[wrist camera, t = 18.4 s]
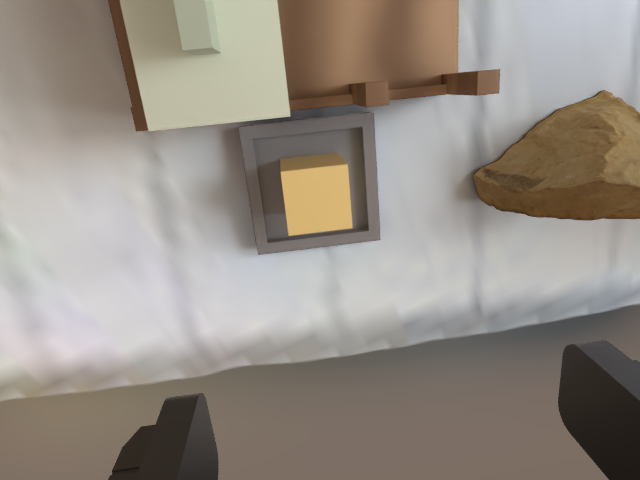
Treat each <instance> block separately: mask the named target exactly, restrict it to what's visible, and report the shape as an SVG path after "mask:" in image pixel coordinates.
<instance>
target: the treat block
mask: <svg viewBox="0 0 640 480" xmlns="http://www.w3.org/2000/svg"><path fill="white" fill-rule="evenodd" d="M280 172H281V180H282V188H283V195H284V203H285V211H286V219H287V227H288V235H289V236H292V235H300V234H309V233H317V232H325V231H333V230H342V229H350V228H353V227H352V213H351V200H350V187H349V173H348V164H347V163H346V162H345V161H344V159H343V158H342V157H341V156H340V155H339V154H338V153H328V154H319V155H310V156H301V157H292V158H283V159H280Z"/></svg>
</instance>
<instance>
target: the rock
mask: <svg viewBox="0 0 640 480" xmlns="http://www.w3.org/2000/svg"><path fill="white" fill-rule="evenodd" d="M473 177H474V181H475V185H476V189H477V193H478V196H479V198H480V199H481V200H482V201H483V202H485V203H486V204H488V205H489V206H494V207H495V208H496V209H498V210H501V211H509V212H515V213H521V214H526V215H528V216H532V217H552V218H558V219H573V220H597V219H602V218H605V219H640V113H639V112H637V111H636V110H635V108H633V107H631V106H629V105H627V104H626V103H625V102H624V101H623V100H622V99H621V98H615V97H614V96H613V95H612V93H610V92H607V91H605V90H603V91H601V92H600V93H599V94H598V95H597V96H595V97H593V98H590V99H587V100H585V101H582V102H580V103H578V104H572V105H570V106H568V107H565V108H563V109H562V108H560V109H558V110H557V111H556V112H555V113H553V114H552V115H551V116H549V117H548V118H546V119H545V120H543V121H541V122H539V123H538V124H537V125H536V126H535V128H533V129H532V130H531V131H529V132H528V133H527V134H526V136H525V137H524V138H523V139H522V140H520V141H519V142H518V143H517V144H514V145H512V146H511V148H509V149H508V150H507V151H506V152H505V154H504V155H503V156H502V157H501V158H500V159H499V160H498V161H496V162H493V163H491V164H489V165H487V166H484V167H482V168H481V169H479V171H477V172H476V173H475V174H474V176H473Z"/></svg>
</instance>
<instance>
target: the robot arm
mask: <svg viewBox="0 0 640 480" xmlns="http://www.w3.org/2000/svg"><path fill="white" fill-rule="evenodd" d="M558 407H559V412H560V415H561V418H562V421H563V423H564V425H565V426H566V428H567V430H568V431H569V432H570V434H571V435H572V436H573V437H574V438H575V440H576V441H577V442H578V443H579V444H580V446H581V447H582V448H583V449H584V450H585V452H586V453H587V454H588V455H589V456H590V457H591V459H592V460H593V461H594V462H595V463H596V465H597V466H598V467H599V468H600V469H601V471H602V472H603V473H604V474H605V475H606V477H607V478H608V479H609V480H640V362H638V361H636V360H631V359H630V358H629V357H627V356H626V355H625V354H623V353H622V352H621V351H620V350H618V349H617V348H616V347H614V346H613V345H612V344H610V343H609V342H607V341H603V340H601V341H593V342H586V343H578V344H571V345H568V346H567V347H566V348H565V349H564V352H563V359H562V369H561V378H560V388H559V397H558ZM108 480H218V453H217V446H216V442H215V438H214V434H213V429H212V424H211V420H210V415H209V411H208V406H207V402H206V398H205V396H204V394H203V393H199V394H191V395H184V396H176V397H169V398H167V399H166V400H165V401H164V404H163V406H162V409H161V412H160V415H159V417H158V420H157V422H156V425H150V426H143V427H140V429H139V430H138V431H137V432H136V433H135V434H134V435H133V436H132V437H131V439H130V440H129V441H128V442H127V443H126V444H125V445H124V446H123V447H122V450H121V452H120V454H119V457H118V459H117V461H116V463H115V466H114V468H113V470H112V475H111V476H110V477H109V479H108Z"/></svg>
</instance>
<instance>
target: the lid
mask: <svg viewBox="0 0 640 480" xmlns="http://www.w3.org/2000/svg"><path fill="white" fill-rule="evenodd" d="M120 4H121V9H122V14H123V18H124V23H125V27H126V32H127V36H128V41H129V45H130V50H131V54H132V59H133V63H134V68H135V72H136V77H137V81H138V86H139V90H140V95H141V99H142V104H143V108H144V113H145V117H146V122H147V126H148V131H158V130H167V129H177V128H186V127H196V126H205V125H215V124H224V123H234V122H243V121H252V120H262V119H271V118H281V117H290V107H289V99H288V90H287V81H286V72H285V63H284V55H283V46H282V37H281V28H280V20H279V11H278V2H277V0H120Z"/></svg>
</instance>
